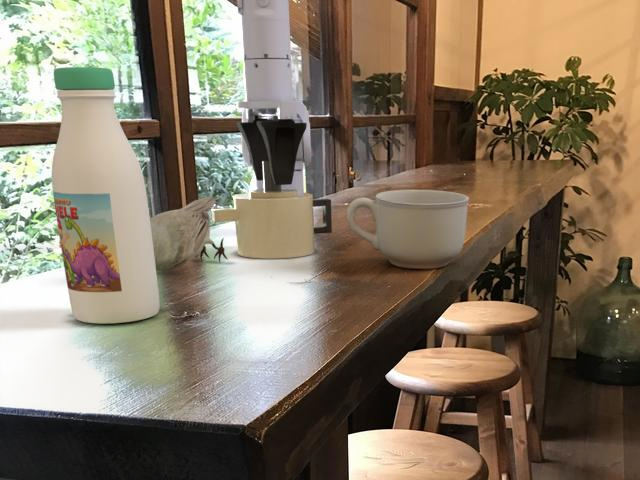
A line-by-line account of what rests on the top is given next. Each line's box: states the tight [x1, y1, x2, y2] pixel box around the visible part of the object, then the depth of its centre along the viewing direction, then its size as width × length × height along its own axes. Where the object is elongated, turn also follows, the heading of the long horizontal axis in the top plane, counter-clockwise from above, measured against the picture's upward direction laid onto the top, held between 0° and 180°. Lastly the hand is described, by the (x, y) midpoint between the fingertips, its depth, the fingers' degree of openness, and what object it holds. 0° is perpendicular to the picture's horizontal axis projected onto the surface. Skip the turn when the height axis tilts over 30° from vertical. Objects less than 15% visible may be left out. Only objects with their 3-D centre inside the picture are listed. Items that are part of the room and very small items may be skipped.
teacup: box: [346, 189, 470, 270], centre depth 94 cm, size 14×11×8 cm
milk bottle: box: [51, 66, 161, 324], centre depth 69 cm, size 8×8×20 cm
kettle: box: [210, 160, 333, 260], centre depth 103 cm, size 16×10×11 cm, turn 115°
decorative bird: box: [150, 196, 228, 272], centre depth 91 cm, size 5×16×8 cm, turn 152°
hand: (273, 182), depth 101 cm, fingers open, 7 cm apart
